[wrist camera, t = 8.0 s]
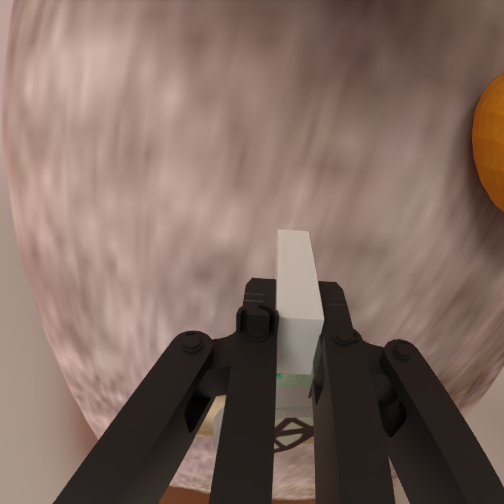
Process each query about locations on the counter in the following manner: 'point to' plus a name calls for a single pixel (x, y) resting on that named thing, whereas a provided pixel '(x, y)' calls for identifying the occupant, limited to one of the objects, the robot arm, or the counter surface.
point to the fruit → (490, 140)
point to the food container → (286, 412)
